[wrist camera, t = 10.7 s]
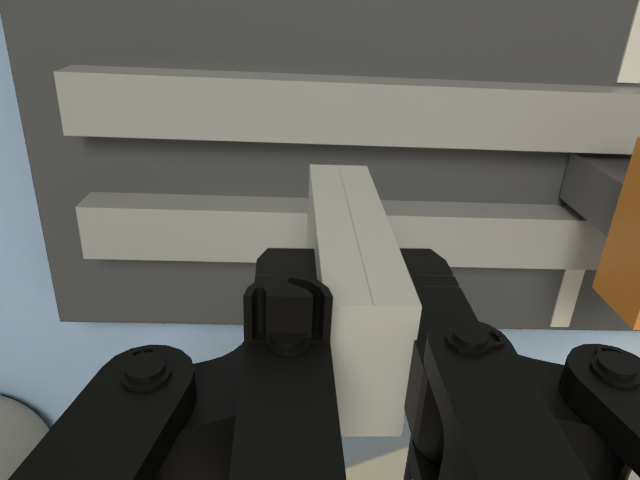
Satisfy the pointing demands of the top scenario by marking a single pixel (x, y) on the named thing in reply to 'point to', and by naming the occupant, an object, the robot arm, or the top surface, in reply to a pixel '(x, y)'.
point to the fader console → (318, 142)
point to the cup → (17, 434)
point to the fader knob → (611, 222)
